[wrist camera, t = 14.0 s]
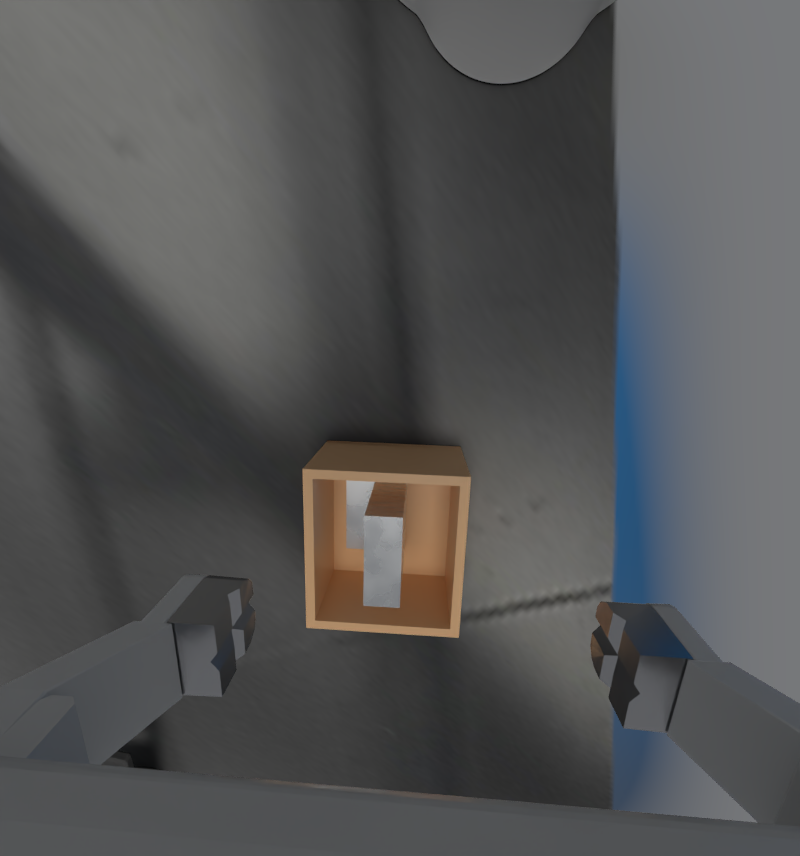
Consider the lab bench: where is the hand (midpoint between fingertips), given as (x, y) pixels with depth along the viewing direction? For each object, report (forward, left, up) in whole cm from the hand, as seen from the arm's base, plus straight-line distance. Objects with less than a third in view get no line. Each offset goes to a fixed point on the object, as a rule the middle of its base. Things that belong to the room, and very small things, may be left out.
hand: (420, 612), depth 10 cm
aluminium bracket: (+11, -4, -30) cm, 33 cm away
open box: (+12, -3, -31) cm, 34 cm away
